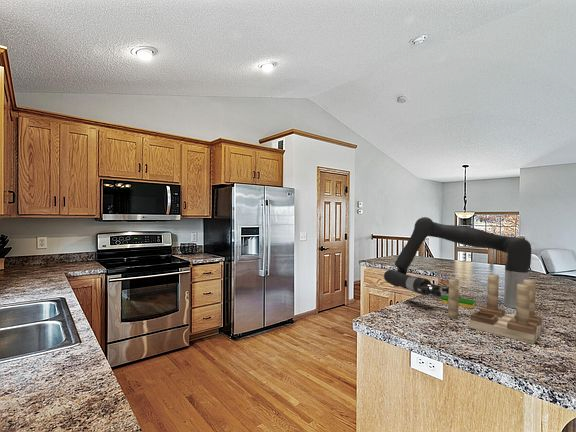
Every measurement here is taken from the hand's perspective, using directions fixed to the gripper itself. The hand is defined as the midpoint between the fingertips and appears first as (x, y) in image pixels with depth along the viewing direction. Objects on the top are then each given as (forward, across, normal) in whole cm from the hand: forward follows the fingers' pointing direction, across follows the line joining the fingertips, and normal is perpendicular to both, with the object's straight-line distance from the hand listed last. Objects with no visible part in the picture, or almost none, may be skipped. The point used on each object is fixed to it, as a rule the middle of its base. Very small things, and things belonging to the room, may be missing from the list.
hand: (447, 293), depth 137 cm
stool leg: (+3, 0, +10) cm, 10 cm away
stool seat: (+20, +8, +10) cm, 23 cm away
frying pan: (-29, +33, +10) cm, 45 cm away
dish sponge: (-11, +21, +10) cm, 25 cm away
